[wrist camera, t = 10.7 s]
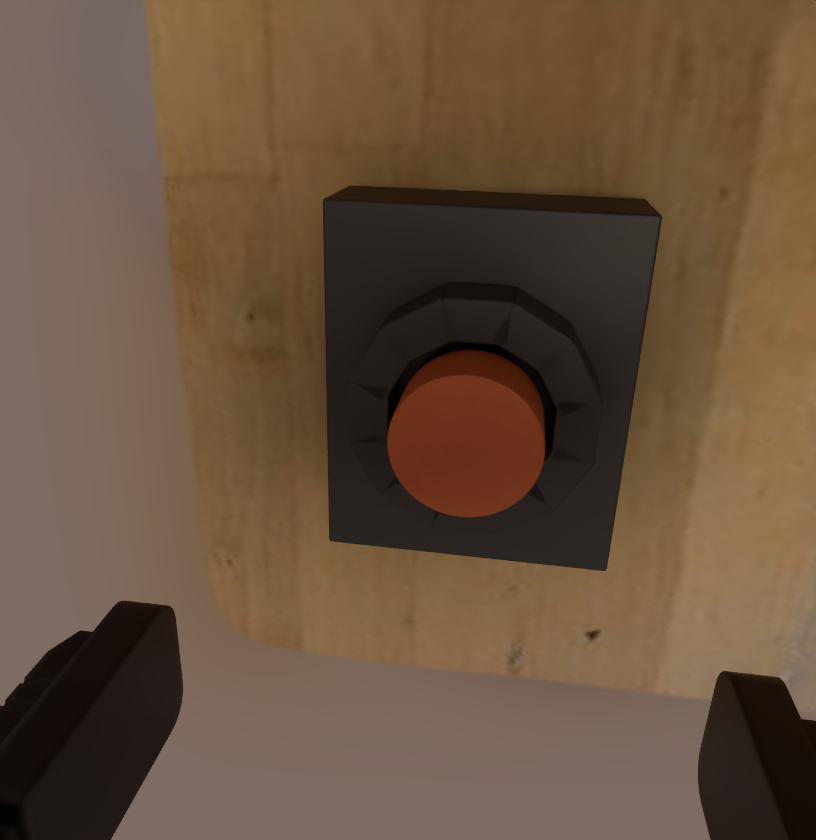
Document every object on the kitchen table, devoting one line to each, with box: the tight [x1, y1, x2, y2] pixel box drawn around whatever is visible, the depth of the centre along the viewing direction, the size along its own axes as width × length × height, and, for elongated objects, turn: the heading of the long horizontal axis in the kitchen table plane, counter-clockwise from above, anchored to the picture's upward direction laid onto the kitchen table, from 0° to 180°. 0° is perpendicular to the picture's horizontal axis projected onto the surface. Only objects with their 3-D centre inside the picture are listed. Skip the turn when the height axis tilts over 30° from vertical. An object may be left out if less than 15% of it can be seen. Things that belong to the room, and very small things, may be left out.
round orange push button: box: [387, 350, 545, 517], centre depth 20 cm, size 4×4×2 cm
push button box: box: [323, 186, 662, 571], centre depth 23 cm, size 11×9×5 cm
